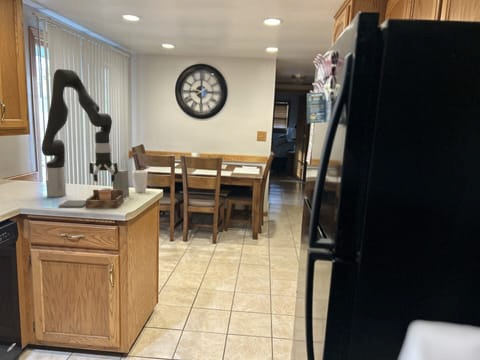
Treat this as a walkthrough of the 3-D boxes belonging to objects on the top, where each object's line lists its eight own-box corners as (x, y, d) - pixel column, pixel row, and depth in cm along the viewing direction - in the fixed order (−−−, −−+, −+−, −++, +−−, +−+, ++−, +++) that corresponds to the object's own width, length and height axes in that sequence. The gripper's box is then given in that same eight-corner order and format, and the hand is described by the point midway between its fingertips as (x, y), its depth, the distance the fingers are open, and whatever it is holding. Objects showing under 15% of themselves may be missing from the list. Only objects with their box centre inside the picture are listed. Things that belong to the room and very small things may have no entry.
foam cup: (134, 189, 228) (134, 170, 226) (148, 189, 229) (148, 170, 227) (131, 192, 219) (130, 172, 217) (146, 192, 220) (145, 172, 217)
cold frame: (85, 208, 180) (85, 195, 179) (94, 201, 194) (93, 189, 192) (117, 208, 181) (116, 195, 180) (123, 201, 195) (123, 189, 194)
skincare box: (122, 197, 205) (121, 171, 202) (111, 196, 206) (110, 170, 203) (129, 194, 213) (129, 169, 210) (119, 194, 214) (118, 168, 211)
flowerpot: (97, 206, 184) (96, 190, 182) (101, 203, 190) (100, 188, 189) (110, 206, 185) (109, 190, 183) (113, 203, 191) (112, 188, 190)
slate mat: (58, 207, 179) (58, 205, 179) (67, 202, 191) (67, 200, 191) (82, 207, 181) (82, 205, 180) (90, 202, 192) (90, 200, 192)
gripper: (86, 152, 178) (88, 182, 181) (115, 152, 179) (116, 182, 182) (91, 150, 185) (93, 180, 188) (118, 151, 187) (119, 180, 189)
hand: (104, 181), depth 185 cm, fingers open, 8 cm apart
